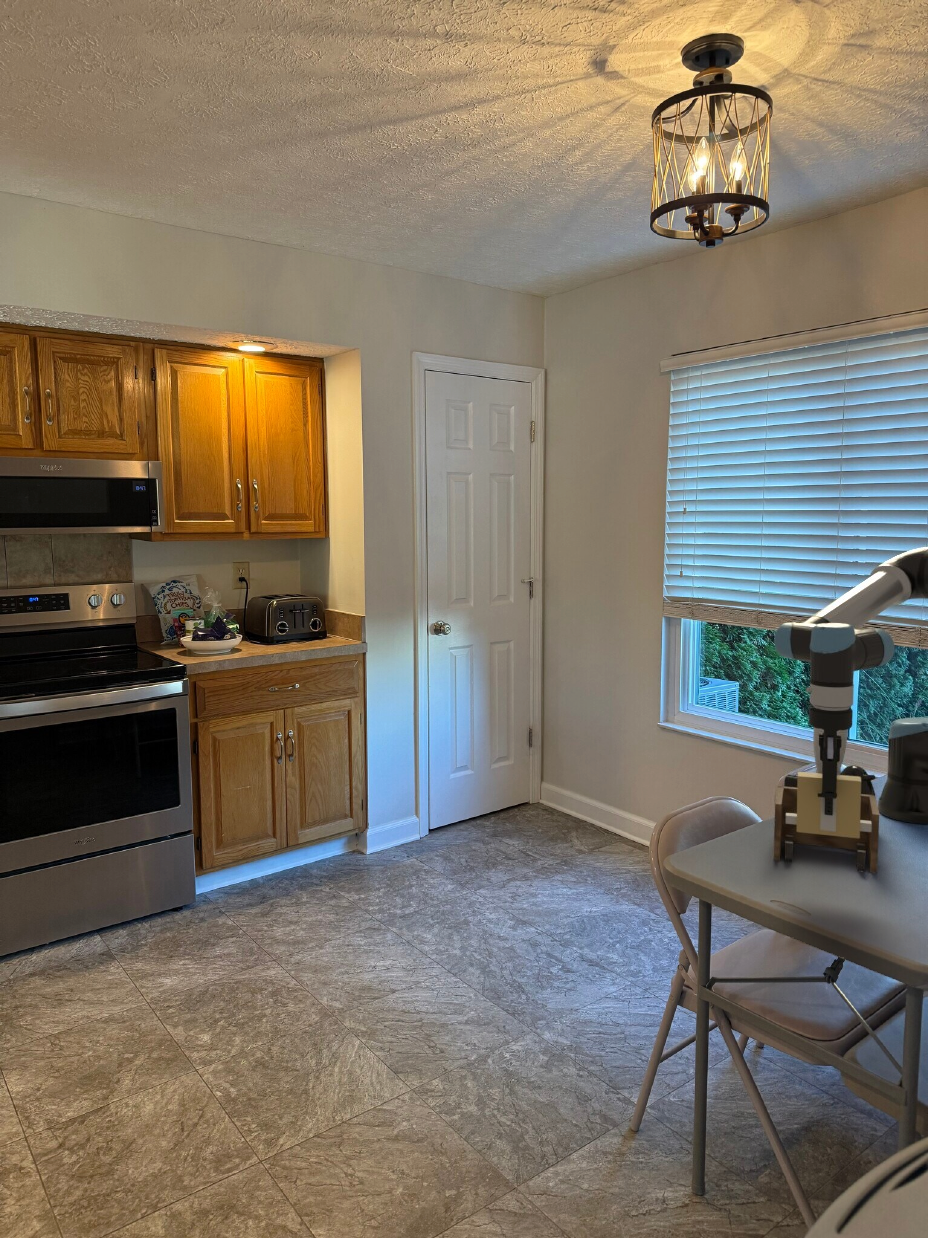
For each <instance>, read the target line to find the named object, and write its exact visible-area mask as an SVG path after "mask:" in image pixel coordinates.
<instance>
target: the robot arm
mask: <svg viewBox="0 0 928 1238" xmlns="http://www.w3.org/2000/svg"><path fill="white" fill-rule="evenodd" d="M915 599H916V600H917V599H924V600H925V599H926V600H927V599H928V546H923V547H918V548H914V549H910V550H908V551H905V552H903V553H901V554H898V555H896V556H893V557H892V558H890V559H888V560H886V561H884V562H882V563H881V564H879V565H878V566H876V567H875V568H874V569H873V570H872V571H871V572H870V575H869V576H868V578H866V579H865V580H864V581H862V582H861V583H859V584H858V585H856V586H854V587H853V588H852V589H850V590H849V591H847V592H846V593H844V594H843V595H841V596H840V597H838V598H837V599H835V600H834V601H832V602H831V603H829V604H827V606H825V607H824V608H822V609H820V610H819V611H817V612H816V613H814V614H813V615H812V616H809V617H808V618H807V619H805V620H804V621H802V622H800V623H799V622H796V621H794V622H785V623H782V624H780V625H779V627H778V628H777V630H776V631H775V633H774V634H775V635H774V640H773V643H774V649H775V651H776V653H777V654H778V655H779V656H781V657H783V658H785V659H790V660H794V661H803V662H810V678H809V680H810V681H809V687H806V688H805V689H806V690H805V692H806V693H809V703H810V704H811V706H809V707H808V713H809V714H808V724H809V726H811V727H812V728H813V729H814V728H817V729H823V730H824V732H823V734H819V746H820V760H821V761H822V792H821V794H820V793H818V797H821V818H820V830H825V831H835V832H836V804H837V793H836V790H837V762H839V761H840V748H841V746H842V739H841V735H837V731H839V730H847V731H848V730H850V729H851V728H852V727H853V715H854V714H853V713H854V712H853V708H852V706H853V705H854V693H855V692H854V690H855V689H854V677H855V676H854V675H855V674H854V673H855V672H857V671H864V670H868V669H875V668H879V667H881V666H884V665H886V664H888V663H890V661H891V660H892V658H893V657H894V654H895V650H896V649H895V643H894V639H893V638H892V636H891V635H890V634H889V633H888V632H887V631H885V630H883V629H881V628H870V627H869V628H868V627H866V628H865V629H859V628H861V627H863V626H864V625H865V624H867V623H868V622H869V621H871V620H872V619H874V618H875V617H877V616H879V614H881V613H883V612H884V611H885V610H887V609H888V608H890V607H891V606H897V605H902V604H904V603H905V602H906V601H908V600H915ZM887 739H888V749H887V752H888V753H887V773H886V774H887V776H886V782H885V784H884V786H883V788H882V791H881V795H880V797H879V798H878V801H877V806H878V811H879V814H881V815H883V816H885V817H887V818H891V819H893V820H896V821H900V822H906V823H909V824H910V823H911V824H921V825H928V716H927V717H926V716H925V717H924V716H923V717H922V716H921V717H906V718H899V719H895V720H893V721H892V722H891V723H890V725H889V732H888V737H887Z"/></svg>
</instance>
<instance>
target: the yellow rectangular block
mask: <svg viewBox="0 0 928 1238" xmlns="http://www.w3.org/2000/svg"><path fill="white" fill-rule="evenodd" d="M797 776H798V783H797V814H794V813H786V824H796V825H797V832H803V833H812V834H822V835H831V836H841V837H850V838H860V831H865V832H871V829H872V823H871V821H865V820H860V807H861V777H857V776H845V775H837V790H836V793H837V804H836V832H835V831H825V830H820V818H821V797H818V793H820V794H821V792H822V774H820V773H816V772H805V771H797Z"/></svg>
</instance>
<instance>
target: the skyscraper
mask: <svg viewBox="0 0 928 1238" xmlns="http://www.w3.org/2000/svg"><path fill="white" fill-rule="evenodd" d="M823 732H824V730H823V729H817V728H814V727H813V736H812V737H813V739H812V740H813V755H814V762H815V768H816V771H815V773H820V774H822V761H821V760H820V746H819V734H823ZM837 735H841V739H842V746H841V748H840V761H839V762H837V775H840V773H841V772H842V766H843V763H844V759H845V754H846V749H847V743H848V729H847V730H839V731H837Z"/></svg>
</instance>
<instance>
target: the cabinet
mask: <svg viewBox="0 0 928 1238" xmlns="http://www.w3.org/2000/svg"><path fill="white" fill-rule="evenodd" d="M875 795H876V794H875ZM875 795H865V794H861V807H860V820H865V821H871V823H872V829H871V832H865V831H860V838H850V837H841V836H831V835H822V834H812V833H803V832H797V825H796V824H786V813H794V814H797V788H795V787H784V785H783V786H782V785H778V786H777V789H776V795H775V798H776V799H775V802H774V830H773V831H774V832H773V834H774V835H773V861H781V851H782V843H783V842H784V843H785V844H784V845H785V847H784V862H787V863H793V855H794V851H793V850H794V843H796V844H804V845H810V846H811V845H813V846H820V847H821V846H822V847H828V848H837V849H844V850H845V849H846V850H851V851H856V855H855V858H856V859H855V865H856V866H855V867H856V871H857V872H865V871H866V853H867V861H868V866H869V873H872V874H878V858H879V857H878V856H879V855H878V854H879V853H878V852H879V833H880V832H879V831H880V830H879V829H880V812H879V811H878V801H876V800H877V797H876V796H877V795H876V796H875Z"/></svg>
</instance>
